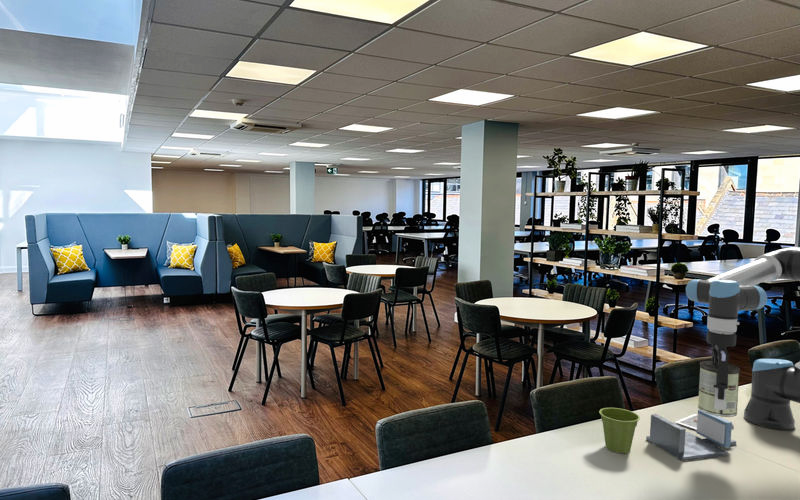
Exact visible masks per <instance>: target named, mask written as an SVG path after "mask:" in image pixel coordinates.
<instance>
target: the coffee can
mask: <svg viewBox="0 0 800 500" xmlns="http://www.w3.org/2000/svg"><path fill="white" fill-rule="evenodd" d="M699 366H700V367H699V368H700V369H699V383H698V384H699V385H698V400H697V402H698V403H697V408H698V409H697V410H701V411H703V412H705V413H708V414H711V415H715V416H719V417H721V418H734V417H736V416H737V415H738V404H739V403H738V402H739V399H738V398H739V384H740V383H739V381H740V372H741V368H740V367H739V366H737V365H735V364H732V363H730V362H728V389H726V404H725V411H724V410H718V409H714V400H715V388H714V387H713V386H714V385H716V377H717V373H718V369H716V365H715V364H714V363H713V361H712V360H704V361H700V362H699ZM720 384H724V383H720Z"/></svg>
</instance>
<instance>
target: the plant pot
mask: <svg viewBox="0 0 800 500" xmlns="http://www.w3.org/2000/svg"><path fill="white" fill-rule="evenodd" d="M598 412H599V415H600V416H601V417H600V418H601V422H602V428H603V435H604V443H605V447H606V448H607V450H609V451H611V452H613V453H617V454H620V453H623V454H627V453H630V452H631V449H632V445H633V440H634V437H635V436H634V435H635V431H636V427H637V426H638V421H640V419H641V417H640V415H639V414H637V413H636V412H634V411H631V410H628V409H624V408H620V407H619V408H618V407H603V408H600V410H599V411H598Z"/></svg>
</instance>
